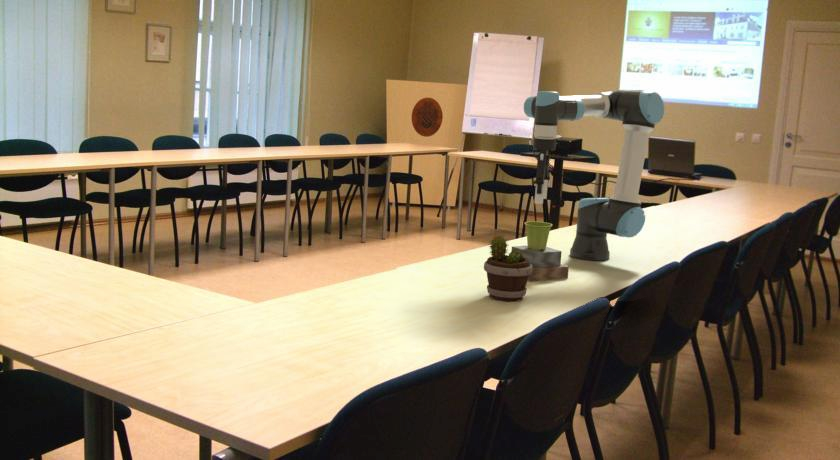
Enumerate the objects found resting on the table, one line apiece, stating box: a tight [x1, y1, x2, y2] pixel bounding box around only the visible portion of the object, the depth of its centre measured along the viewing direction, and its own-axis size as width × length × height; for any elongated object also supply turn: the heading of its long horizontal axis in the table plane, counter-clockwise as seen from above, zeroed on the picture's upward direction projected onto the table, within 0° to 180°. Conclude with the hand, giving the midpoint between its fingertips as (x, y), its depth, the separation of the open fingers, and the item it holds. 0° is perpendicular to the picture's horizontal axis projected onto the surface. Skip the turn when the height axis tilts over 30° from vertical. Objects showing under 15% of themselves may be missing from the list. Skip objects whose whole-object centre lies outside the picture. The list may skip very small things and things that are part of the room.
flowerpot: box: [483, 231, 533, 302], centre depth 246 cm, size 14×15×20 cm
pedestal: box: [511, 245, 570, 282], centre depth 281 cm, size 16×16×9 cm
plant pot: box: [524, 221, 553, 250], centre depth 279 cm, size 9×9×9 cm
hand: (540, 201), depth 277 cm, fingers open, 13 cm apart
